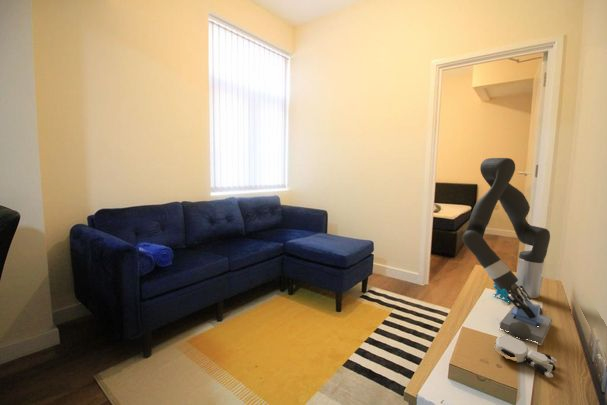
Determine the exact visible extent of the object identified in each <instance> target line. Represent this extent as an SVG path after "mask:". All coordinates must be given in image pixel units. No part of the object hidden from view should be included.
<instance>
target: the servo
mask: <svg viewBox="0 0 607 405" xmlns="http://www.w3.org/2000/svg"><path fill="white" fill-rule="evenodd" d="M525 302H526V304H527V305H528V307H529V308H530V309H531V310H532V312H533V313H534V314H535V315H536V317H535V318H532V319H530V318H529V317H528V316H527V315H526V313H525V312H524V311H523V310H521V309H518V308H517V310H515V309H514V310H513V311H512V313H511V314H513V315H516V319H517V320H520V321H523V322H526V323H528V324H531V325H534V326H537V324H538V323H539V324H542V323H543V321H544V319H542V318H539V312H540V307H541V304H539V303H537V302H536V301H531V302H529V301H526V300H525ZM519 304H520V303H519ZM520 305H521V304H520Z"/></svg>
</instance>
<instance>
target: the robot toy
mask: <svg viewBox="0 0 607 405" xmlns="http://www.w3.org/2000/svg"><path fill="white" fill-rule="evenodd" d="M502 334H503V335H500V336H498V337H497V338H496V340H495V343H496V344H494V345H493V349H495V350H496V349H497V350H498V351H499V352H501V353H502V354H504V355H506V356H510V357H516V358H517V362H516V363H522V362H525V363H526V364H527V365H528V364H529V366H530V367H532V368H533V367H534V368H535V369H534V370H536V372H538V373H540V375H542V376H545V377H547V378H553V376H554V375H553V374H552V372H555V371H556V368H557V367H556V366H555V364H556V363H557V362H558V361H557V359H556V358H555V357H553V356H551V355H549V354H546V353H544V352H539V351H536V350H533V349H529V348H528V346H527V345H526V343H525V342H524V341H523V340H520V339H517V338H516V337H514V336H513V335H512V336H511V335H509V334H508V333H507V332H505V331H503V332H502ZM495 345H496V347H495Z"/></svg>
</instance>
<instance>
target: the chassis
mask: <svg viewBox="0 0 607 405" xmlns="http://www.w3.org/2000/svg"><path fill="white" fill-rule="evenodd" d="M513 305H514V304H513ZM514 309H515V310H517V307H516V306H515V305H514V306H513V307H511V309H510V310H509V311H508V313H506V315H505V316H504V317H503V318H502V319H501V321H500V324H499V329H500V328H501V329H503V330H506V331H509V332H510V333H511V335H512V337H514V336H515V337H514V338H516V337H518V338H520V339H522V340H521V341H523V340H524V341H528V340H532V341H536V342H538V344H537V345H539V346H542V344H543V342H544V340H545V338H546V337H547V334H548V332H549V331H550V328H551V326H552V320H553V318H552V317H551V316H547V315H545V314H544V310H543V308H542V307H541V306H540V312H539V318H542V319H544V321H543V323H542V324H539V323H538V324H537V326H539V327H537V326H534V325H531V324H528V323H526V322H523V321H520V320H517V319H516V315H513V314H511V313H512V311H513V310H514ZM510 333H509V334H510ZM520 339H519V340H520ZM526 339H528V340H526Z"/></svg>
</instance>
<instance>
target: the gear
mask: <svg viewBox="0 0 607 405" xmlns="http://www.w3.org/2000/svg"><path fill="white" fill-rule="evenodd" d="M493 288H494V289H495V293H493V294H492V295H495V297H498V296H499V298H500V299H503V302H505V303H509V302H510V303H512V302H511V301H510V300H509V299H508V298H507V296H508V293H507V291H506V289H499V288H498V286H497V285H496V284H495V283H494V282H493ZM507 301H509V302H507Z"/></svg>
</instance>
